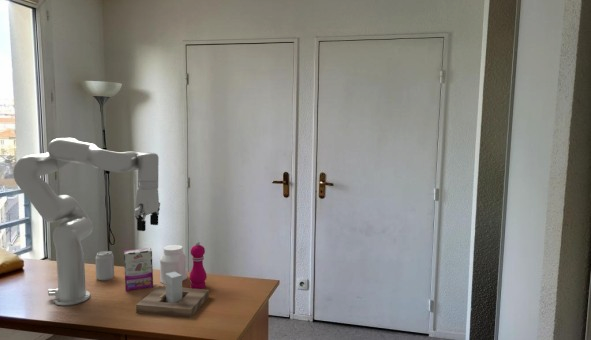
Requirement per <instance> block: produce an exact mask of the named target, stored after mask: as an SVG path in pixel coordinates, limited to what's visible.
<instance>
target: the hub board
mask: <svg viewBox="0 0 591 340" xmlns="http://www.w3.org/2000/svg"><path fill="white" fill-rule="evenodd" d="M209 297H210V290H209V289H204V288H203V289H192V288H191V287H189V288H188V287H182V299H181V300H180V301H179V302H178V303H166V285H165V286H163V285H159V286H158V287H156V288H155V289H154V290H152V292H150V293H149V294H148V295H146V296H145V297H143V298H142V299H141V300H140V301H139V302H138V303H136V304H135V312H136V313H141V314H150V315H162V316H170V317H171V316H173V317H184V318H192V317H193V316H194V315H195V314H196V312H197V311H198V310H199V309H200V308H201V307H202V306H203V304H204V303H205V302H206V301H207V300H208V299H209Z"/></svg>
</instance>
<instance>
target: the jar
mask: <svg viewBox="0 0 591 340" xmlns="http://www.w3.org/2000/svg"><path fill="white" fill-rule="evenodd" d="M183 249H184V248H183V245H179V244H169V245H165V246H164V247H163V254H162V255H161V256H160V258H159V265H160V266H159V269H160V270H159V271H160V272H159V273H160V274H159V275H160V276H159V277H160V279H159V281H160V283H162V284H164V285H166V274H167V273H171V272H177V273H179V274H180V275H182V282H184V281H185V280H186V279H187V278H188V276H187V272H188V271H187V267H188V265H187V259H188V257H187V256H186V254H185V253H184V250H183Z"/></svg>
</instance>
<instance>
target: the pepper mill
mask: <svg viewBox="0 0 591 340" xmlns="http://www.w3.org/2000/svg"><path fill="white" fill-rule="evenodd" d="M205 252H206V249H205V247H204V246H203V245H201V242H199V241H196V242H195V245H193V246H192V247H191V248H190V254H191V261H192V268H191V270H190V273H189V280H190V288H191V289H204V288H206V284H207V283H206V280H207V276H208V275H207V272H206V270H205V267H204V262H203V261H204V259H205V257H204V255H205V254H206V253H205Z"/></svg>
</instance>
